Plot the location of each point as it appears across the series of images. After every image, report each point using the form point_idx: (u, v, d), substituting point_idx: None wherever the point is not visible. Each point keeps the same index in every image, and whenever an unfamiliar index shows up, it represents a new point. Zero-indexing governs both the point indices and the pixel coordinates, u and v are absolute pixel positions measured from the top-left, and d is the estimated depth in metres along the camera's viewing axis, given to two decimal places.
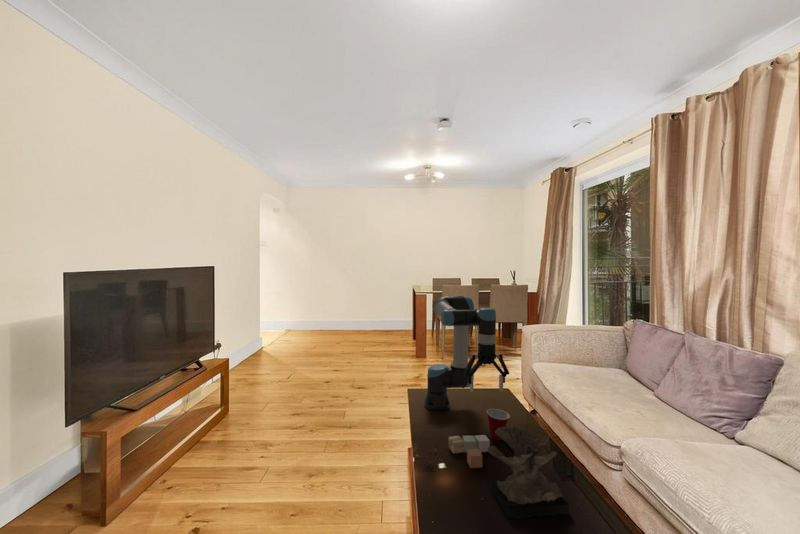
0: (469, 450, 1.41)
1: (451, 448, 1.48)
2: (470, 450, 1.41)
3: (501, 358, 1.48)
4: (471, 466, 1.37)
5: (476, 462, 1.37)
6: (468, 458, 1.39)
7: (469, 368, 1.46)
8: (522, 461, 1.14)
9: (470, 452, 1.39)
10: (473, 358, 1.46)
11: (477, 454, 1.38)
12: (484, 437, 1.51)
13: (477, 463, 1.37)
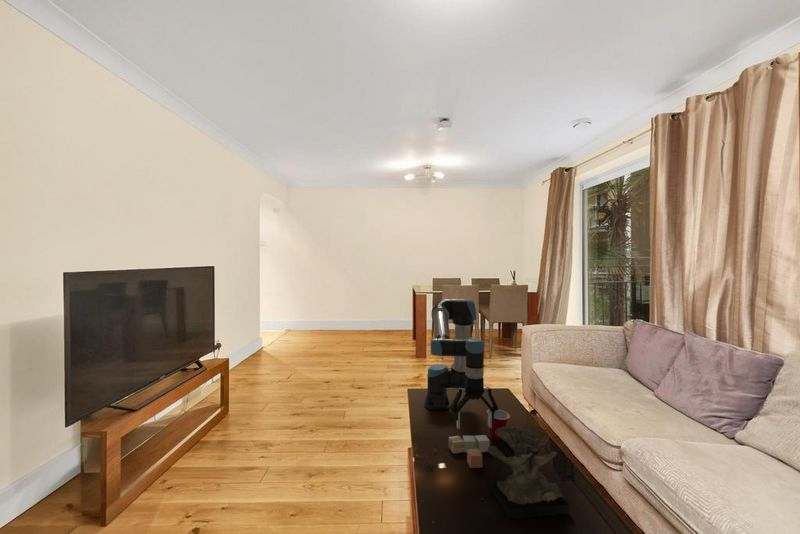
0: (469, 450, 1.41)
1: (451, 448, 1.48)
2: (470, 450, 1.41)
3: (490, 393, 1.39)
4: (471, 466, 1.37)
5: (476, 462, 1.37)
6: (468, 458, 1.39)
7: (455, 403, 1.38)
8: (522, 461, 1.14)
9: (470, 452, 1.39)
10: (460, 393, 1.38)
11: (477, 454, 1.38)
12: (484, 437, 1.51)
13: (477, 463, 1.37)
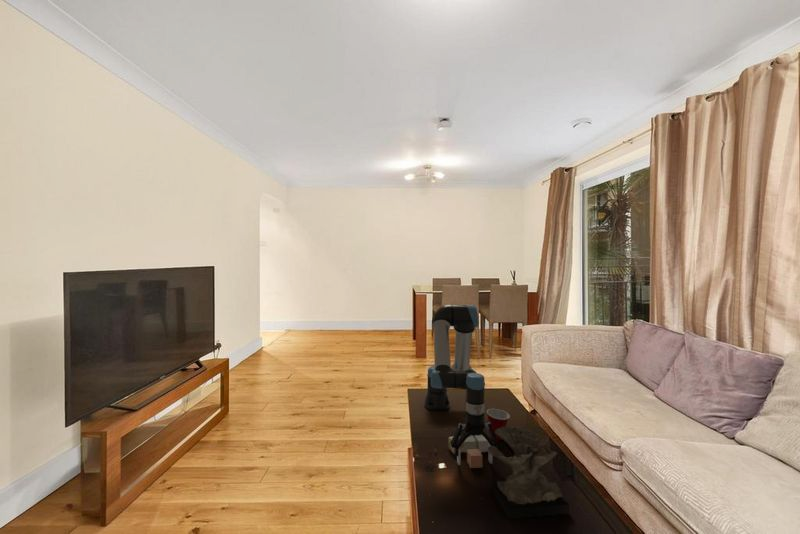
0: (469, 450, 1.41)
1: (451, 448, 1.48)
2: (470, 450, 1.41)
3: (490, 428, 1.38)
4: (471, 466, 1.37)
5: (476, 462, 1.37)
6: (468, 458, 1.39)
7: (456, 439, 1.37)
8: (522, 461, 1.14)
9: (470, 452, 1.39)
10: (460, 429, 1.37)
11: (477, 454, 1.38)
12: (484, 437, 1.51)
13: (477, 463, 1.37)
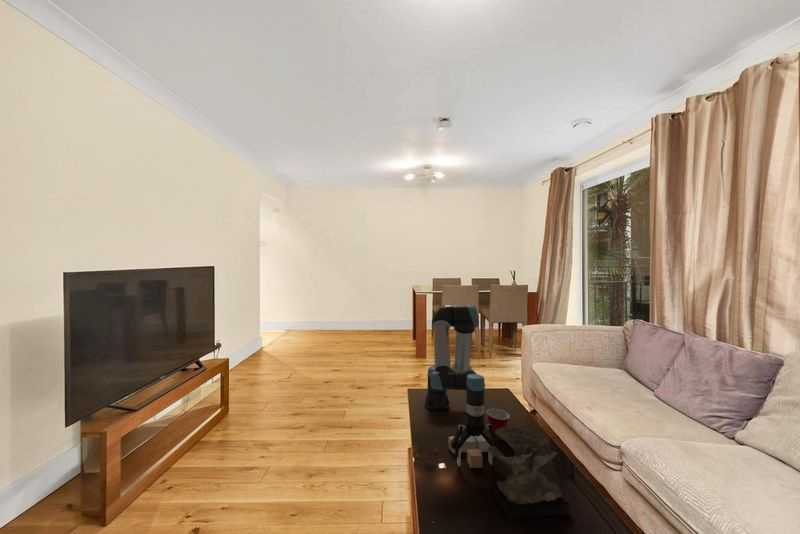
0: (469, 450, 1.41)
1: (451, 448, 1.48)
2: (470, 450, 1.41)
3: (490, 429, 1.38)
4: (471, 466, 1.37)
5: (476, 462, 1.37)
6: (468, 458, 1.39)
7: (456, 441, 1.37)
8: (522, 461, 1.14)
9: (470, 452, 1.39)
10: (460, 430, 1.37)
11: (477, 454, 1.38)
12: None
13: (477, 463, 1.37)
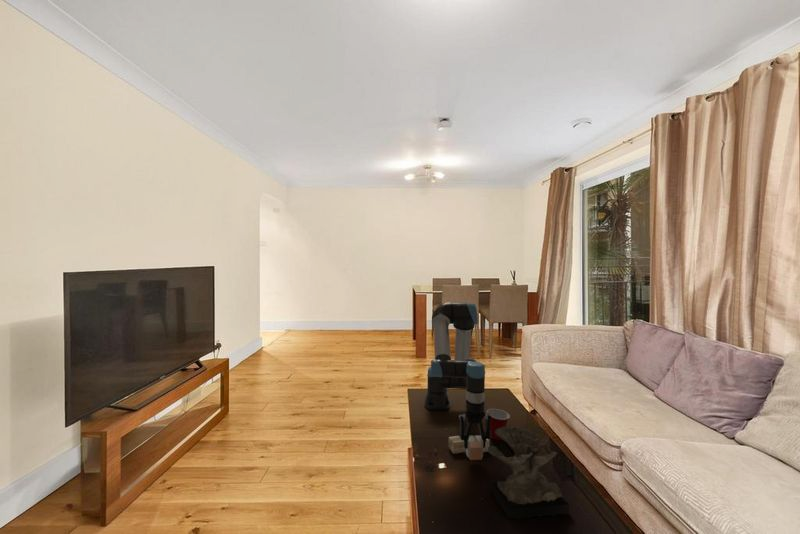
0: None
1: (451, 448, 1.48)
2: (470, 442, 1.41)
3: (489, 420, 1.39)
4: (471, 458, 1.37)
5: (476, 454, 1.37)
6: None
7: (462, 431, 1.38)
8: (522, 461, 1.14)
9: (470, 444, 1.39)
10: (462, 420, 1.38)
11: (477, 446, 1.38)
12: None
13: (477, 454, 1.37)
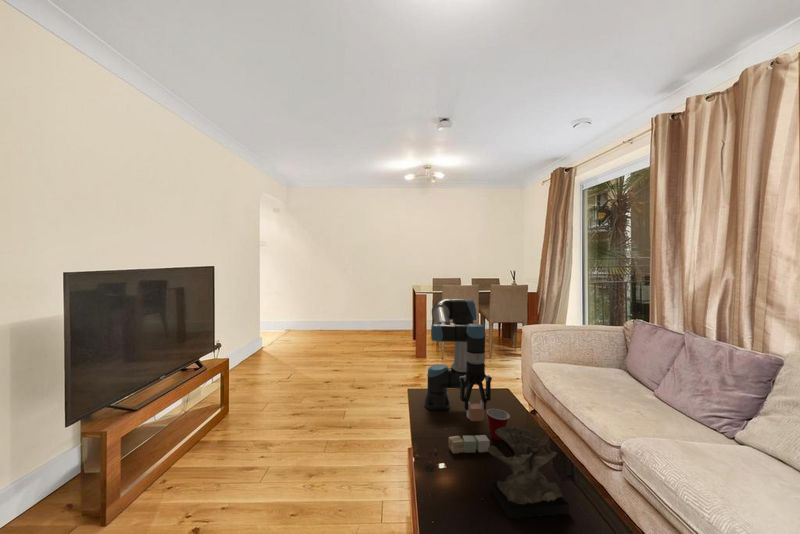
0: None
1: (451, 448, 1.48)
2: (470, 404, 1.40)
3: (489, 381, 1.38)
4: (471, 419, 1.36)
5: (476, 415, 1.37)
6: None
7: (463, 393, 1.37)
8: (522, 461, 1.14)
9: (471, 406, 1.39)
10: (462, 381, 1.37)
11: (477, 407, 1.37)
12: (484, 437, 1.51)
13: (478, 416, 1.37)
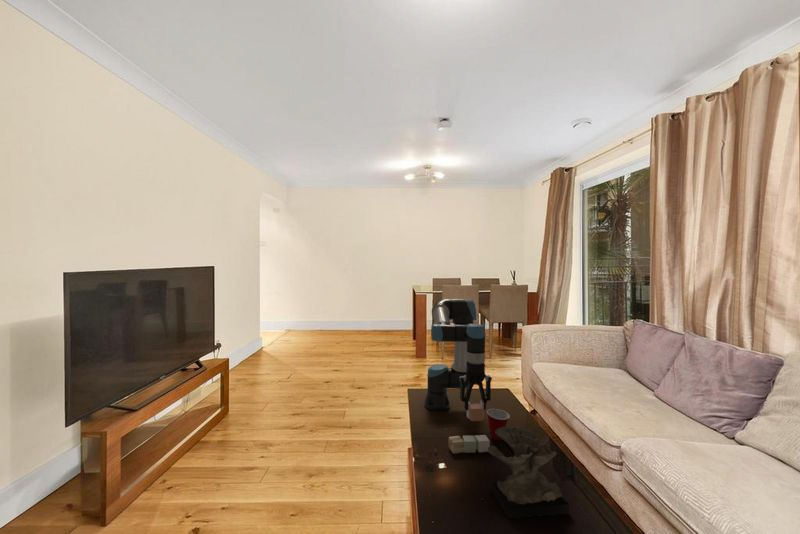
0: None
1: (451, 448, 1.48)
2: (470, 404, 1.40)
3: (489, 381, 1.38)
4: (471, 419, 1.36)
5: (476, 415, 1.37)
6: None
7: (463, 393, 1.37)
8: (522, 461, 1.14)
9: (471, 406, 1.39)
10: (462, 381, 1.37)
11: (477, 407, 1.37)
12: (484, 437, 1.51)
13: (478, 416, 1.37)
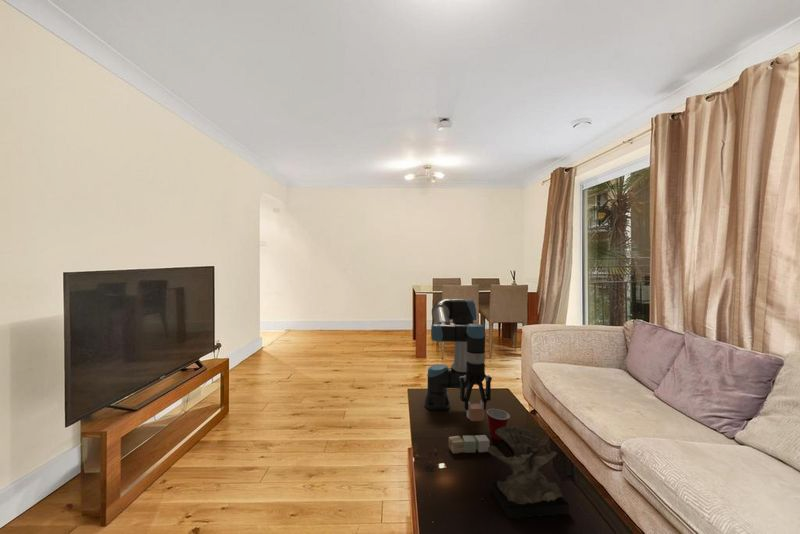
0: None
1: (451, 448, 1.48)
2: (470, 404, 1.40)
3: (489, 381, 1.38)
4: (471, 419, 1.36)
5: (476, 415, 1.37)
6: None
7: (463, 393, 1.37)
8: (522, 461, 1.14)
9: (471, 406, 1.39)
10: (462, 381, 1.37)
11: (477, 407, 1.37)
12: (484, 437, 1.51)
13: (478, 416, 1.37)
